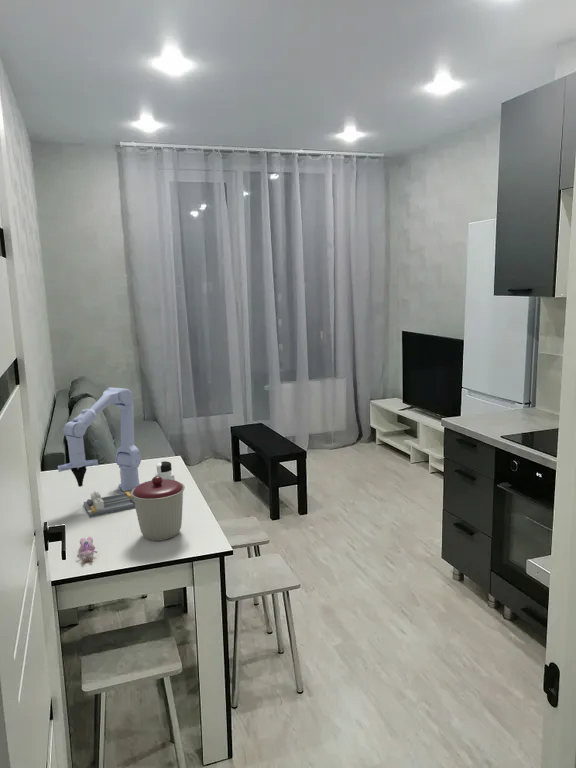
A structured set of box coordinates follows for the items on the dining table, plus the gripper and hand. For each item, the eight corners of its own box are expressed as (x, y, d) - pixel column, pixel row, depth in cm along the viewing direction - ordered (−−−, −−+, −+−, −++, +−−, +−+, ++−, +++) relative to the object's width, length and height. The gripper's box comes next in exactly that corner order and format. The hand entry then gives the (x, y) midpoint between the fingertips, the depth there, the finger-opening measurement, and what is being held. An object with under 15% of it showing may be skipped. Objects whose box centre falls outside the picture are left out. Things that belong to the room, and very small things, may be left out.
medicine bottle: (173, 486, 252) (171, 459, 250) (175, 491, 246) (173, 463, 243) (156, 488, 250) (154, 461, 248) (158, 494, 243) (155, 466, 241)
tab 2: (94, 507, 227) (93, 498, 227) (102, 505, 229) (101, 496, 228) (96, 510, 224) (95, 501, 223) (104, 509, 225) (103, 499, 224)
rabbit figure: (98, 566, 186) (96, 540, 199) (96, 550, 184) (94, 525, 197) (77, 570, 184) (77, 543, 197) (75, 554, 182) (75, 528, 195)
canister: (145, 523, 214) (140, 468, 210) (194, 523, 212) (189, 467, 208) (126, 545, 196) (121, 485, 192) (179, 546, 194) (174, 485, 190)
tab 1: (91, 501, 234) (90, 492, 234) (99, 499, 236) (98, 490, 235) (93, 504, 231) (92, 495, 230) (100, 502, 232) (100, 493, 232)
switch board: (83, 504, 235) (83, 499, 234) (133, 494, 244) (133, 489, 243) (90, 517, 221) (89, 512, 221) (143, 506, 231) (142, 500, 230)
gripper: (58, 458, 220) (62, 492, 222) (98, 451, 227) (101, 484, 229) (55, 453, 226) (59, 487, 228) (94, 447, 233) (97, 479, 235)
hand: (80, 485), depth 229 cm, fingers closed
